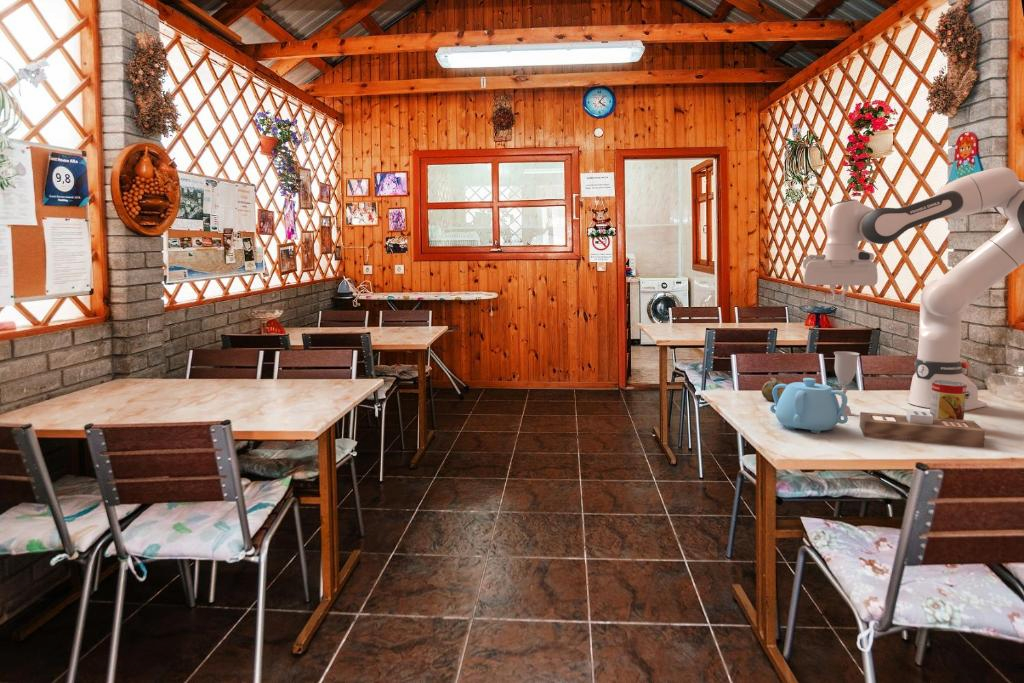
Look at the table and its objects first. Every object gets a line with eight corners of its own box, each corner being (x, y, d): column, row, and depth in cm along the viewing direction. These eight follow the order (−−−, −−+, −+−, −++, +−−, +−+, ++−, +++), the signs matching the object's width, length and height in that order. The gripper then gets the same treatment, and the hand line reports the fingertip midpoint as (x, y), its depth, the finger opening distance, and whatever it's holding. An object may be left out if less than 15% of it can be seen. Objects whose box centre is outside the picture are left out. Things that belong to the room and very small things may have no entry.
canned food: (969, 429, 179) (973, 385, 178) (940, 429, 180) (943, 385, 178) (951, 422, 187) (954, 379, 186) (922, 421, 187) (926, 379, 186)
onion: (791, 403, 211) (792, 378, 210) (766, 403, 211) (767, 378, 210) (782, 398, 218) (783, 374, 217) (757, 398, 219) (758, 374, 218)
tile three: (945, 436, 168) (946, 425, 168) (940, 431, 173) (941, 420, 172) (968, 438, 166) (969, 427, 166) (963, 433, 171) (964, 422, 170)
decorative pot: (825, 421, 189) (827, 373, 187) (851, 435, 173) (854, 384, 171) (766, 420, 189) (768, 373, 188) (787, 435, 173) (790, 383, 172)
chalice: (858, 416, 193) (863, 355, 191) (833, 415, 194) (837, 354, 192) (851, 411, 200) (855, 351, 198) (827, 410, 201) (830, 351, 199)
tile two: (909, 425, 171) (910, 414, 170) (906, 420, 175) (907, 409, 175) (932, 427, 169) (933, 415, 168) (928, 422, 173) (929, 411, 173)
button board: (864, 436, 172) (865, 421, 172) (859, 426, 182) (860, 411, 182) (983, 447, 163) (985, 431, 162) (971, 435, 173) (973, 420, 172)
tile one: (874, 430, 174) (874, 419, 173) (871, 425, 178) (872, 415, 178) (895, 432, 172) (896, 421, 172) (892, 427, 177) (893, 416, 176)
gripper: (804, 254, 202) (801, 300, 204) (880, 254, 195) (877, 301, 197) (803, 254, 208) (800, 299, 210) (877, 254, 201) (873, 300, 203)
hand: (838, 300), depth 203 cm, fingers closed
